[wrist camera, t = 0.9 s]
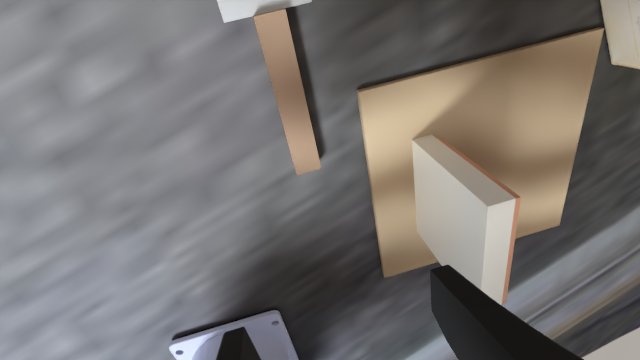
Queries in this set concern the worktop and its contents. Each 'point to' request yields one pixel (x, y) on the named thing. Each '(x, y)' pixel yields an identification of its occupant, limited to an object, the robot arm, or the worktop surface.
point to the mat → (480, 134)
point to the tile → (465, 215)
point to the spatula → (281, 72)
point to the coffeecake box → (623, 31)
